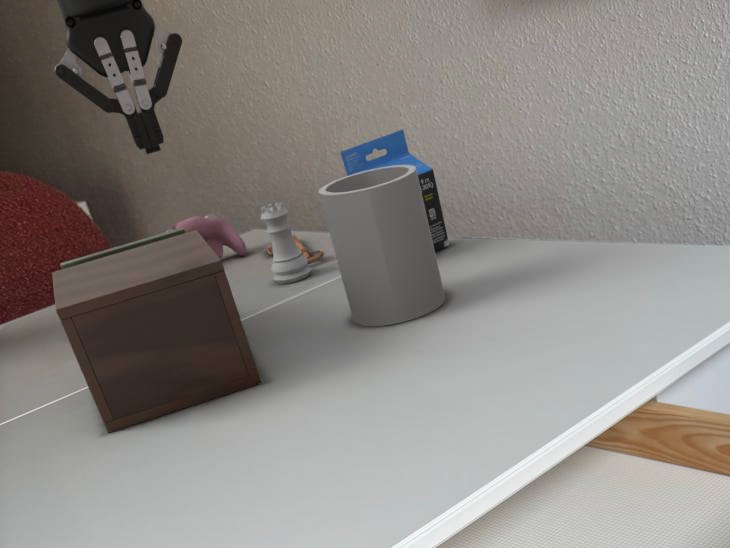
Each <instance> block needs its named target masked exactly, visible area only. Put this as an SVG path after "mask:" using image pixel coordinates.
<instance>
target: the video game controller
mask: <svg viewBox="0 0 730 548" xmlns="http://www.w3.org/2000/svg"><path fill="white" fill-rule="evenodd" d="M179 228H184V230H185V232H186V233H188V232H191V231H195V230H197V231H198V233H199V234H200V235H201V236H202V238H203V239H204V240H205V241H206V242H207V244H208V245H209V246H210V247H211V249H212V250H213V251H214V252H215V254H216V255H217V256H218V257H219V259H220V260H221V258H222V257H223V255H224V246H225V247H228V248H229V249H230V250H232V251H233V252H234V253H236V254H237V255H239V256H243V257H245V256H246V255H247V254H248V253H247V252H248V251H247V250H248V249H247V246H246V242H245V241H244V239H243V237H241V236H240V234H238V232H237V231H236V230H235V229H234V228H233V227H232V225H230V224H229V223H228V222H227V221H226V220H225V219H224V218H222V217H219V216H217V215H216V214H215V213H210V214H208V215H203V216H199V215H195V216H192V217H188V218H186V219H184V220H181V221H179V222H177V223H176V224H174V225H173V226H172V227H170V228H168V229H166V231H165V232H164V233H166V232H169V231H172V230H176V229H179Z"/></svg>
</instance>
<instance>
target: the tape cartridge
mask: <svg viewBox="0 0 730 548" xmlns="http://www.w3.org/2000/svg"><path fill="white" fill-rule="evenodd" d="M374 150H377V151H383V150H385V151H386V153H385V154H384V155H381V156H377V157H375V158H372V159H370V160H367V156H369V155H371V154H374V153H373V152H374ZM340 157H341V161H342V163H343V166H344V170H345V173H346V176H349V175H352V174H355V173H359V172H363V171H367V170H371V169H376V168H381V167H387V166H395V165H413V166H415V167H416V170H417V174H418V179H419V183H420V188H421V192H422V197H423V201H424V205H425V210H426V214H427V219H428V223H429V228H430V232H431V237H432V241H433V246H434V250H435V252H436V251H439V250H441V249H444V248H446V247H449V246H450V242H449V237H448V236H449V235H448V232H447V227H446V223H445V218H444V213H443V210H442V205H441V204H442V203H441V200H440V195H439V191H438V186H437V181H436V177H435V171H434V169H433V168H432V167H431V166H430V165H428V164H427V163H425V162H423V161H422V160H420V159H418V158H417V157H415V156H414V155H412V154H411V153H410V151H409V148H408V144H407V140H406V136H405V131H404V129H398V130H396V131H394V132H391V133H389V134H386V135H383V136H380V137H378V138H375V139H372V140H369V141H366V142H364V143H361V144H357V145H356V146H352V147H350V148H347V149H344V150H340Z"/></svg>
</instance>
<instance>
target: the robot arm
mask: <svg viewBox="0 0 730 548" xmlns="http://www.w3.org/2000/svg"><path fill="white" fill-rule="evenodd" d="M55 4H56V5H57V8H58V11H59V13H60V17H61V19H62V21H63V24H64V27H65V45H66V47H67V49H66V52H65V53H64V54H63V57H62V59H61V60H60V62H59V63H58V64H56V65H55V67H54V73H55V75H56V76H57V78H59V79H60V80H62V81H63V82H65V84H67V85H68V86H70V87H71V88H72V89H74V90H75V91H76V92H78V93H79V94H81V96H83V97H85V98H86V99H87V100H89V101H90V102H92V103H93V104H94V105H95V106H96V107H98V108H100V109H101V110H102V111H104V112H105V113H107V114H111V113H113V114H114V113H115V114H121V115H122V116H124V118H125V120H126V122H127V123H126V124H127V125H128V128H129V131H130V134H131V137H132V140H133V142H134V144H135V146H136V147H137V148H138V149H139V150H144V152H145V154H146V155H150V154H154V153H157V152H161V146H160V145H161V144H164V134H163V131H162V128H161V125H160V123H159V120H158V117H157V114H156V112H155V111H156V110H155V106H156V104H157V103H158V102H159V101H161V100H162V99H163V98H166V96H167V95H168V91H169V88H170V85H171V82H172V79H173V74H174V71H175V67H176V64H177V61H178V58H179V54H180V51H181V48H182V44H183V38H182V36H181V35H180V34H179V33H177V32H171V31H168V30H166V29H164V28H163V27H160V26H159V25H156V22H155V20H154V18H153V16H152V15H151V14H150V13H149V12H148V11H147V9H146V8H145V6H144V4H143V0H55ZM154 38H155V42H156V44H155V45H156V46H155V47H156V50H157V52H158V53H160V54H161V57H160V61H159V64H158V67H157V71H156V74H155V78H154V81H153V84H152V86H150V88H148V83H147V79H146V76H145V72H144V67H145V65H146V64H147V62H148V58H149V55H150V50H151V47H152V42H153V39H154ZM77 58H78V59H80V61H82V62H83V63H85V64H86V65H87V67H89V68H91V70H93V71H94V72H95V73H97V74H98V75H99V76H102V77H104V78H107V80H108V82H109V85H110V87H111V89H112V90H113V93H114V95H115V97H108V96H107V95H106V94H104V93H103V92H101V91H100V90H99V89H97V88H96V87H95V86H93V85H92V83H90V82H88V81H87V80H85V79H84V78H83V77H82V76H83V72H84V71H83V69H82V67H81V65H80V64H79V63H78V61H77ZM125 72H128V75H129V78H130V81H131V84H132V85H131V86H132V89H133V92H134V95H135V99H136V102H137V105H138V108H139V110H140V111H139V110H138V109H137V107H136V105H135V103H134V101H133V99H132V97H131V95H130V92H129V90H128V88H127V85H126V82H125V81H124V78H123V75H122V74H123V73H125Z"/></svg>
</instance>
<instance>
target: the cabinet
mask: <svg viewBox="0 0 730 548" xmlns="http://www.w3.org/2000/svg"><path fill="white" fill-rule="evenodd" d="M51 275H52V284H53V296H54V306H55V312H56V315H57V316H58V319H59V320H60V324H61V327H62V328H63V331H64V333H65V336H66V338H67V340H68V342H69V345H70V347H71V349H72V352H73V354H74V356H75V360H76V361H77V364H78V366H79V368H80V371H81V373H82V376H83V378H84V380H85V383H86V385H87V387H88V389H89V392H90V394H91V396H92V399H93V401H94V404H95V406H96V408H97V410H98V413H99V415H100V418H101V420H102V423H103V426H104V427H105V430H106V432H107V434H110V433H112V432H115V431H119V430H121V429H125V428H128V427H131V426H135V425H137V424H140V423H144V422H147V421H149V420H152V419H156V418H159V417H161V416H164V415H168V414H171V413H174V412H177V411H180V410H183V409H186V408H189V407H192V406H195V405H199V404H202V403H205V402H208V401H211V400H214V399H217V398H220V397H224V396H226V395H230V394H232V393H235V392H238V391H242V390H245V389H247V388H251V387H255V386H258V385H260V384H262V383H263V382H262V380H261V376H260V373H259V371H258V366H257V363H256V361H255V357H254V355H253V353H252V349H251V346H250V343H249V339H248V337H247V334H246V330H245V329H244V325H243V322H242V319H241V316H240V313H239V309H238V307H237V304H236V301H235V297H234V295H233V291H232V289H231V286H230V282H229V279H228V276H227V274H226V271H225V267H224V265H223V262H222V259H221V258H220V259H219V257H218V256H217V255H216V254H215V252H214V251H213V250H212V249H211V247H210V246H209V245H208V244H207V242H206V241H205V240H204V239H203V238H202V236H201V235H200V234H199V233H198V231H197V230H195V231H191V232H188V233H184V234H181V235H178V236H174V237H171V238H167V239H164V240H161V241H157V242H154V243H150V244H147V245H144V246H140V247H137V248H134V249H130V250H127V251H123V252H120V253H117V254H113V255H110V256H106V257H103V258H100V259H96V260H93V261H89V262H86V263H83V264H79V265H76V266H72V267H69V268H66V269H62V268H61V269H59V270H55V271H52V272H51Z"/></svg>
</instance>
